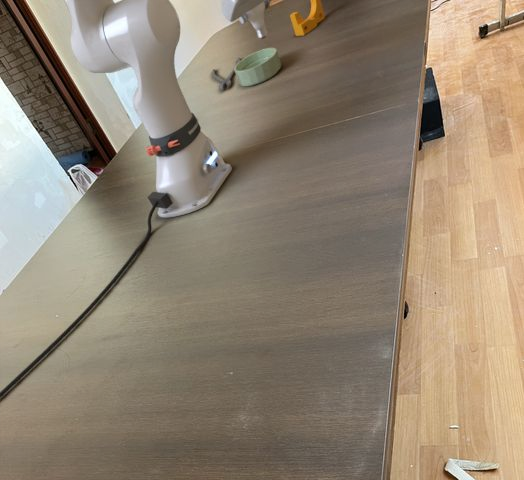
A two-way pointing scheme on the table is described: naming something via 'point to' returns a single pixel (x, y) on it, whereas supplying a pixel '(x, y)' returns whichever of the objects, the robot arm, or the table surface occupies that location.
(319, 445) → the table surface
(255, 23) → the lightbulb
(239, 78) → the bowl
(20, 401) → the table surface
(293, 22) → the pipe clamp
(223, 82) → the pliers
